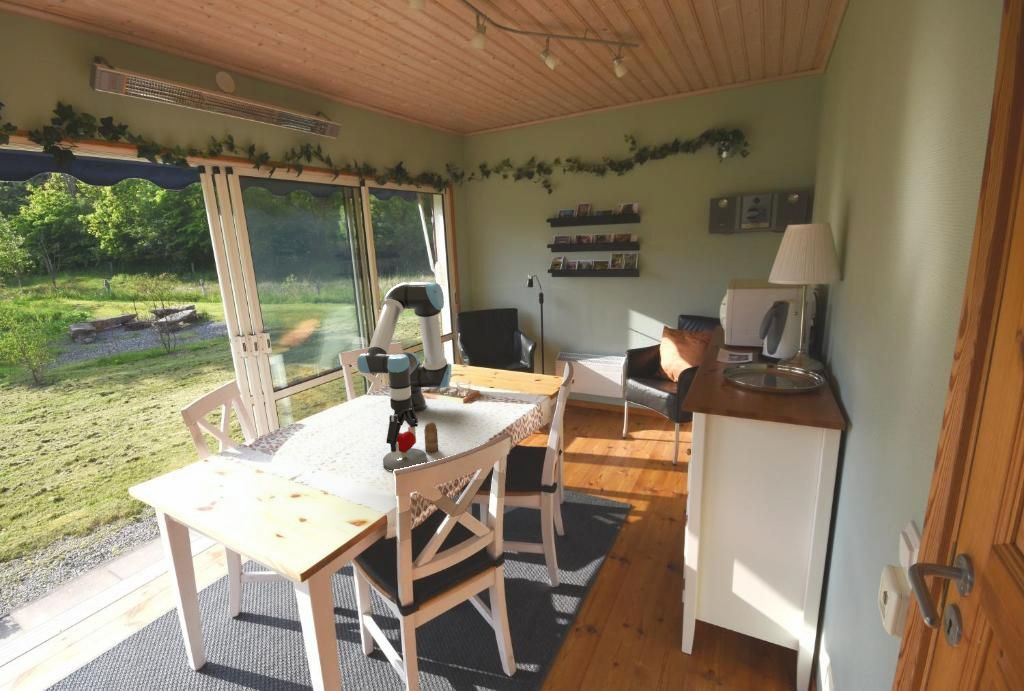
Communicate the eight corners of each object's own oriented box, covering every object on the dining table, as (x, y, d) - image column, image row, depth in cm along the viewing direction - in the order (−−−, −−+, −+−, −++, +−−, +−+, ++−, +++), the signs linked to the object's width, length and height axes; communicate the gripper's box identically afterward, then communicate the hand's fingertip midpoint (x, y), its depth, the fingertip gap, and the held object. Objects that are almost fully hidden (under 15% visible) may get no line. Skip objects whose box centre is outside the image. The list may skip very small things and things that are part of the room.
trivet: (396, 449, 189) (395, 446, 189) (433, 454, 185) (433, 450, 185) (374, 469, 174) (374, 465, 174) (414, 474, 170) (414, 470, 170)
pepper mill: (428, 447, 191) (427, 419, 188) (440, 448, 190) (438, 420, 187) (423, 452, 187) (421, 424, 184) (435, 454, 185) (433, 425, 183)
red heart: (392, 463, 175) (389, 438, 172) (391, 455, 181) (389, 430, 179) (417, 459, 177) (415, 434, 175) (416, 451, 184) (414, 427, 181)
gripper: (407, 385, 186) (410, 435, 191) (373, 408, 163) (377, 464, 168) (424, 387, 184) (427, 437, 189) (393, 410, 161) (397, 467, 166)
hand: (404, 450), depth 178 cm, fingers open, 13 cm apart
